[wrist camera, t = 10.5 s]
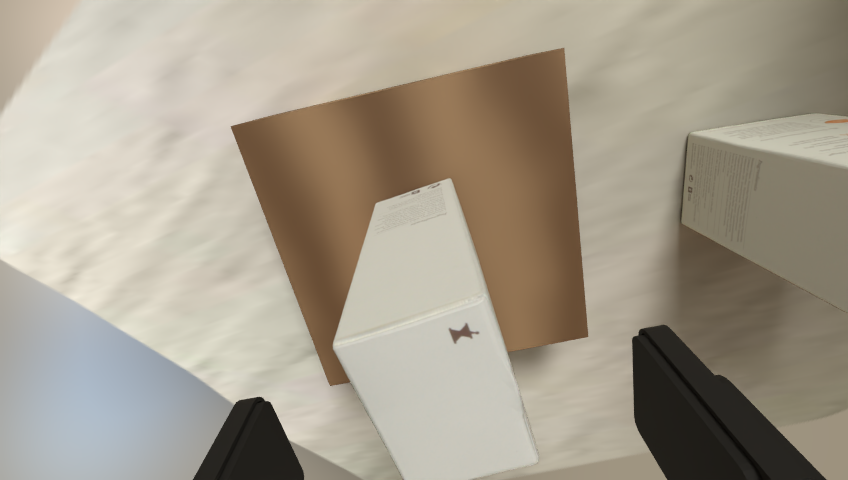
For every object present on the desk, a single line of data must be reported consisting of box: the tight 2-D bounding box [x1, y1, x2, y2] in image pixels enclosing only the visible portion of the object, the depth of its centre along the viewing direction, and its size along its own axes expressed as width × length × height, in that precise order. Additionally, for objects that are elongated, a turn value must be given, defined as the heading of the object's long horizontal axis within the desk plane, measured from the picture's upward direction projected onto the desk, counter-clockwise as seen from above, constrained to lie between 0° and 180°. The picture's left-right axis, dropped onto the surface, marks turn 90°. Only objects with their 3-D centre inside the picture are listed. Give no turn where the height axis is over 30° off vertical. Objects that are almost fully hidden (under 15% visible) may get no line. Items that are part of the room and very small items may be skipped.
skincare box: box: [333, 178, 539, 480], centre depth 16 cm, size 6×4×12 cm
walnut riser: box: [231, 48, 588, 386], centre depth 25 cm, size 16×16×6 cm
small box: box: [681, 113, 848, 313], centre depth 21 cm, size 8×6×13 cm
